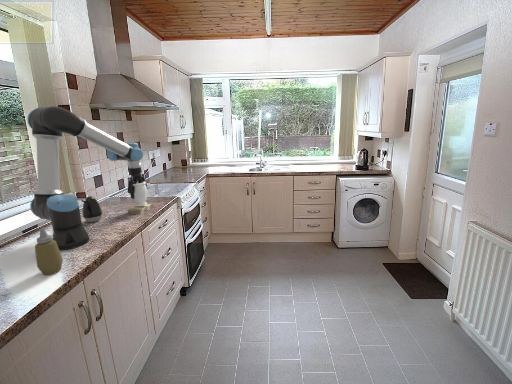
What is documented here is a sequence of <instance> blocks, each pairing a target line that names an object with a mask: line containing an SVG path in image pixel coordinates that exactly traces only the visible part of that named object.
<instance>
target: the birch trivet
mask: <svg viewBox="0 0 512 384" xmlns="http://www.w3.org/2000/svg"><path fill="white" fill-rule="evenodd" d="M152 208H154V206H153V203H147V204H146V205H143V206H132V207H130V208H128V209H127V214H132V215H133V214H134V215H135V214H136V215H141V214H143V213H145V212H147V211H149V210H150V209H152Z"/></svg>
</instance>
